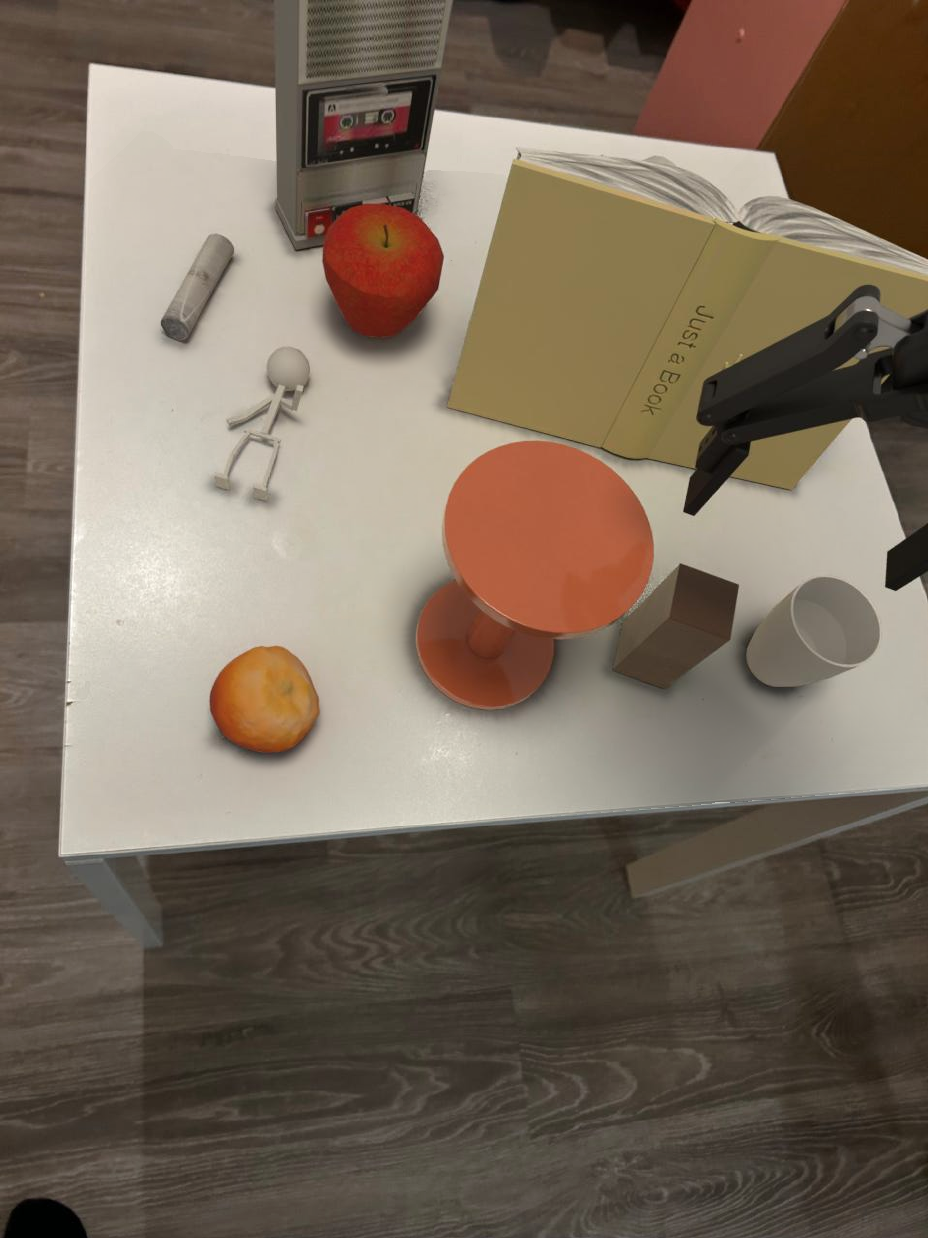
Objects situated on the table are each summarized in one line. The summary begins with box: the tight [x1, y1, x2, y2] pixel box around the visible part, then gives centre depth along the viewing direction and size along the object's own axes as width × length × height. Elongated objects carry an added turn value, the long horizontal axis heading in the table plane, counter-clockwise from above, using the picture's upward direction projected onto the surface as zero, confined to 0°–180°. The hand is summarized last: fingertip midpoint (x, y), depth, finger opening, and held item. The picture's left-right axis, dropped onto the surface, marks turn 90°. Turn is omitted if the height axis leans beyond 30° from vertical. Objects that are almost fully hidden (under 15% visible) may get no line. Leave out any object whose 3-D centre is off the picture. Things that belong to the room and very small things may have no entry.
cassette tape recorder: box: [273, 0, 454, 250], centre depth 75 cm, size 14×6×25 cm, turn 115°
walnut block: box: [612, 563, 740, 690], centre depth 68 cm, size 5×5×12 cm
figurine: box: [213, 346, 311, 502], centre depth 72 cm, size 6×6×15 cm
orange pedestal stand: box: [415, 440, 655, 711], centre depth 62 cm, size 14×14×20 cm
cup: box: [745, 574, 883, 688], centre depth 71 cm, size 8×8×10 cm
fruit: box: [208, 645, 321, 754], centre depth 62 cm, size 8×8×8 cm
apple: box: [322, 204, 445, 338], centre depth 76 cm, size 11×11×12 cm
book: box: [446, 146, 928, 491], centre depth 73 cm, size 36×8×24 cm, turn 82°
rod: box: [160, 233, 235, 342], centre depth 78 cm, size 12×3×3 cm, turn 165°
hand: (792, 534), depth 51 cm, fingers open, 13 cm apart
